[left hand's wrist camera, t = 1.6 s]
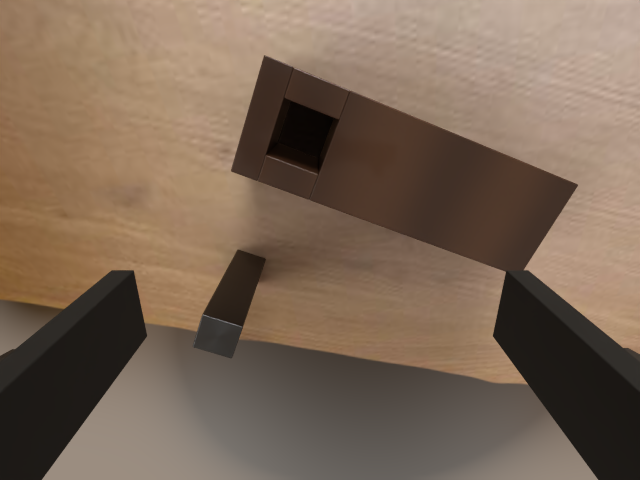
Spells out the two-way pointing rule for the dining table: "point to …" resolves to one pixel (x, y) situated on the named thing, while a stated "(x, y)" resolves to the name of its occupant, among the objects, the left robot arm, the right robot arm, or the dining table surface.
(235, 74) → the dining table surface
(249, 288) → the peg
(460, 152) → the peg block
